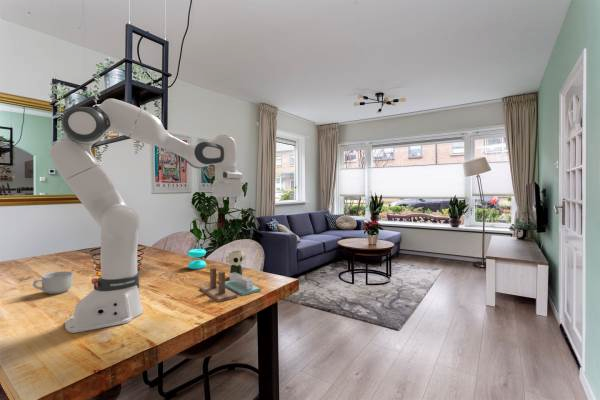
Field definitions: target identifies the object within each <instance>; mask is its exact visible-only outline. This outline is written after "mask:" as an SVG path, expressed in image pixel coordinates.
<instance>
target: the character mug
mask: <svg viewBox="0 0 600 400" xmlns="http://www.w3.org/2000/svg"><path fill="white" fill-rule="evenodd" d="M245 260H246V253H244V252H243V250H238V249H237V250H230V251H228V255H226V257H225V263H226V264H227V263H229V265H230V271H229V274H230V273H234V272H236V273H238V274H241V275H243V269H242V264H243V262H244V261H245Z"/></svg>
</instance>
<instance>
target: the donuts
mask: <svg viewBox="0 0 600 400" xmlns="http://www.w3.org/2000/svg"><path fill="white" fill-rule="evenodd" d="M206 254H207V251H206V249H203V248H198V249H197V248H193V249H191V250H189V251H188V252H187V255H188V256H189V257H190V258H202V257H204V256H206ZM206 266H207V263H206V261H205V260H201V259H199V260H197V259H195V260H192V261H189V262H188V265H187V267H188V269H191V270H200V269H203V268H206Z"/></svg>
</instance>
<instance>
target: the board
mask: <svg viewBox="0 0 600 400" xmlns="http://www.w3.org/2000/svg"><path fill="white" fill-rule="evenodd" d="M225 288H226V289H228V290H230V291H232V292H234V293H236V294H237V295H240V296H246V295H251V294H254V293H257V292H261V287H258V286H256V285H254V284H253V289H250V290H245V289H243V288H241V287H239V286H237V285H235V284H233V283H231V282H230V280H227V281H226V280H225Z"/></svg>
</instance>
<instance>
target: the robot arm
mask: <svg viewBox="0 0 600 400" xmlns="http://www.w3.org/2000/svg"><path fill="white" fill-rule="evenodd" d="M61 128H62V130H63V131H64V135H65V136H64V138H63V139H61V140H60V141H58V142H56V143H54V144H53V145H52V146H51V147H50V149H49V152H48V154H49V157H50V160H51V161H52V163H53V165H54V167H55V169H56V170H57V172H58V174H59V176H61V178H62V179H63V180H64V182H65V183H66V185H67V186H68V187H69V188H70V190H71V191H72V192H73V194H74V195H75V196H76V198H77V199H78V200H79V201H80V203H81V204H82V205H83V206H84V208H85V209H86V210H87V212H88V213H89V214H90V216H91V217H92V218H93V219H94V221H95V222H96V223H97V225H98V226H99V227H100V236H101V237H100V255H99V256H100V277H93V278H92V279H91V280H90V282H91V284H92V285H93V290H92V291H90V292H89V293H88V294H86V295H85V296H84V297H83V298H81V299H80V300H79V301H78V302H77V303H76V305H75V307H74V311H73V315H72V316H70V317H69V318H67V319H66V321H65V324H64V328H65V330H66V331H67V332H69V333H70V334H71V333H72V334H74V333H76V334H77V333H81V332H86V331H92V330H97V329H98V330H99V329H103V328H109V327H113V326H118V325H123V324H127V323H130V322H131V321H132V320H133V319H135V318H137V317H138V316H140V315H142V314H143V312H144V308H143V305H142V302H141V298H140V293H139V292H140V291H139V288H140V273H139V272H138V247H139V246H138V245H139V236H140V235H139V233H140V217H139V215H138V213H137V212H136V211H135V209H133V208H131V207H129V206H128V205H127V203H126V202H125V201H124V199H123V197H122V196H121V194H120V192H119V191H118V189H117V187H116V185H115V184H114V182H113V181H112V180H111V178H110V176H109V175H108V174H107V172H106V171H105V170H104V169H103V167H102V166H101V164H100V163H99V161H98V160H97V158H95V155H94V154H93V152H92V148H94V147H95V146H96V145H97V144H99V142H101V140H102V139H103V137H104V135H105V134H106V133H109V132H115V133H119V134H120V135H123V136H126V137H128V138H131V139H133V140H136V141H139V142H140V143H141V142H142V143H144V144H147V145H151V146H155V147H158V148H161V149H163V150H165V151H167V152H169V153H172V154H173V155H176V156H178V157H180V158H182V159H183V160H185V162H186V163H187V164H188V165H189V166H191V167H192V168H194V169H198V170H199V169H204V168H206V167H208V166H211V165H213V166H214V180H213V181H212V182H213V183H212V196H213V197H216V200H217V203H218V208H224V207H225V206H224V205H225V204H224V201H223V200H224V198H228V199H229V204H228V209H235V204H236V200H237V198H241V197H242V191H243V190H242V189H243V188H242V187H243V181H242V179H243V173H242V172H240V171H238V168H237V167H238V166H237V159H238V157H237V156H238V154H237V153H238V152H237V144H236V143H237V142H236V140H235V139H234V138H233V137H231V136H229V135H226V134H218V135H216V136H215V137H213V138H211V139H208V140H204V141H200V142H198V143H196V144H190V143H187V142H186V141H183V140H181V139H179V138H177V137H176V136H173V135H172V134H171V133H169V132H168V131H167V130H166V129H165V126H164V124H163V123H162V120H161V119H160V118H159V117H157V116H156V115H154V114H152V113H150V112H149V111H147V110H145V109H143V108H140V107H138V106H137V105H134V104H131V103H129V102H125V101H123V100H119V99H116V98H107V99H105V100H104V101H103V102H101V104H100V105H99V107H98V106H78V107H77V106H76V107H72V108H70V109H68V110H66V111H65V113H64V114H63V115H62V117H61Z"/></svg>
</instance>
